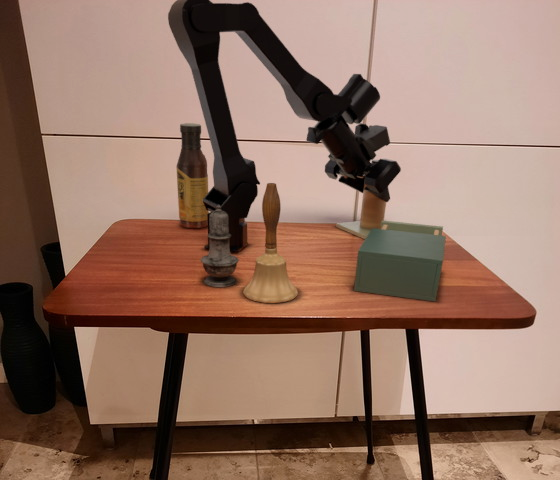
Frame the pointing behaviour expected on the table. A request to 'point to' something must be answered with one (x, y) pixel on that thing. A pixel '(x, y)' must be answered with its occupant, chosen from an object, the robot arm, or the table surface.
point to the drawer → (411, 227)
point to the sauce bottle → (192, 178)
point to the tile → (354, 228)
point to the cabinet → (400, 264)
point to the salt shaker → (219, 252)
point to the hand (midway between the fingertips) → (380, 197)
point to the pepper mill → (372, 210)
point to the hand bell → (270, 259)
